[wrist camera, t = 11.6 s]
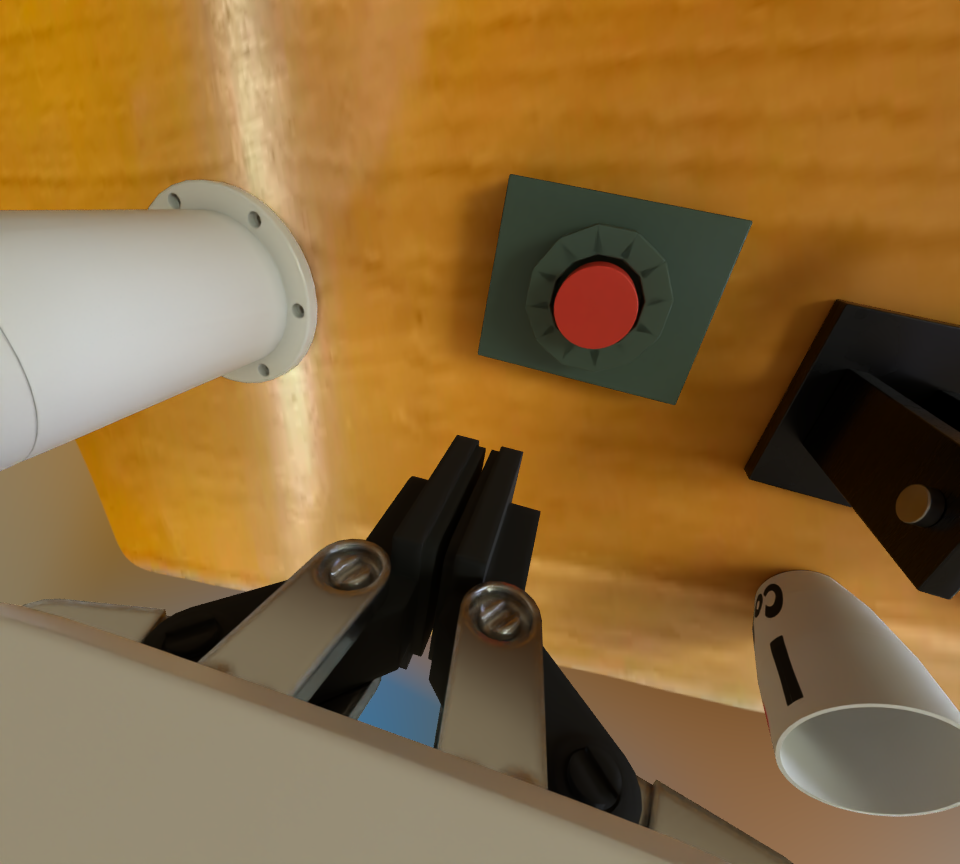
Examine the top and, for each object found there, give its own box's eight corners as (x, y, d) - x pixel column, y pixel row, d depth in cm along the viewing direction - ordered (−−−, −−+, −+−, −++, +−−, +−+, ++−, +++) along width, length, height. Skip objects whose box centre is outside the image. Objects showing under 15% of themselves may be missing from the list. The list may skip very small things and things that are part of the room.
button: (549, 329, 22) (545, 338, 21) (569, 253, 21) (565, 257, 19) (622, 347, 22) (622, 357, 20) (648, 270, 20) (650, 275, 19)
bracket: (836, 298, 22) (1030, 379, 12) (1022, 338, 21) (1418, 466, 11) (743, 469, 27) (823, 631, 16) (890, 508, 26) (1075, 710, 15)
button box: (486, 344, 27) (468, 364, 24) (517, 176, 23) (501, 170, 20) (670, 391, 26) (679, 419, 22) (741, 219, 22) (765, 222, 18)
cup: (738, 545, 29) (792, 689, 20) (892, 557, 27) (1026, 725, 18) (723, 636, 32) (763, 793, 24) (858, 653, 30) (957, 833, 21)
